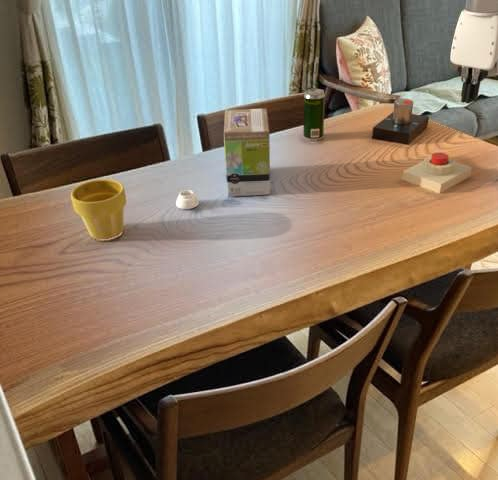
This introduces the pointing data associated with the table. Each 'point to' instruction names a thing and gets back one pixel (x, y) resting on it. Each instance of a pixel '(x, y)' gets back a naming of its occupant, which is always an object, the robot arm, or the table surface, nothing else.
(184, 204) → the lidless jar
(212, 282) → the table surface
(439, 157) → the button
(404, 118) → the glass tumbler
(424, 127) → the hob
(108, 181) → the flower pot
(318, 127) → the beer can
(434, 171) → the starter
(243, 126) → the tea box
